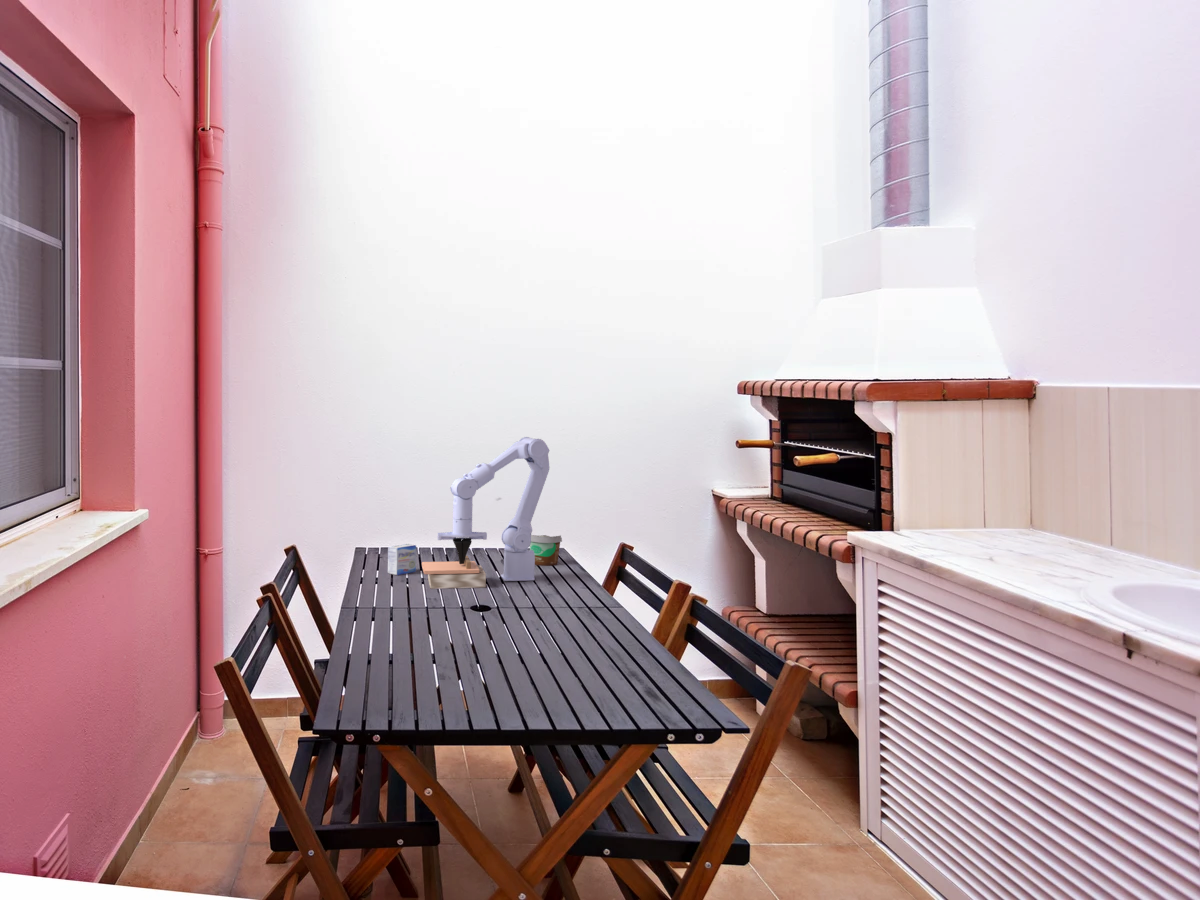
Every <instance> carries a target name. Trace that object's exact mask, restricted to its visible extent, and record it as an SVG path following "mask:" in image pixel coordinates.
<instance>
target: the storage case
mask: <svg viewBox="0 0 1200 900" xmlns="http://www.w3.org/2000/svg"><path fill="white" fill-rule="evenodd" d="M477 566H478V568H479V570H480V571H479V573H464V574H427V580H428V584H429V588H430V589H431V590H435V589H439V590H440V589H475V588H486V586H487V583H486V582H487V580H486V579H487V578H486V577H487V574H486V572H485V570H484V568H483V566H482V565H479V564H477Z"/></svg>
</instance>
